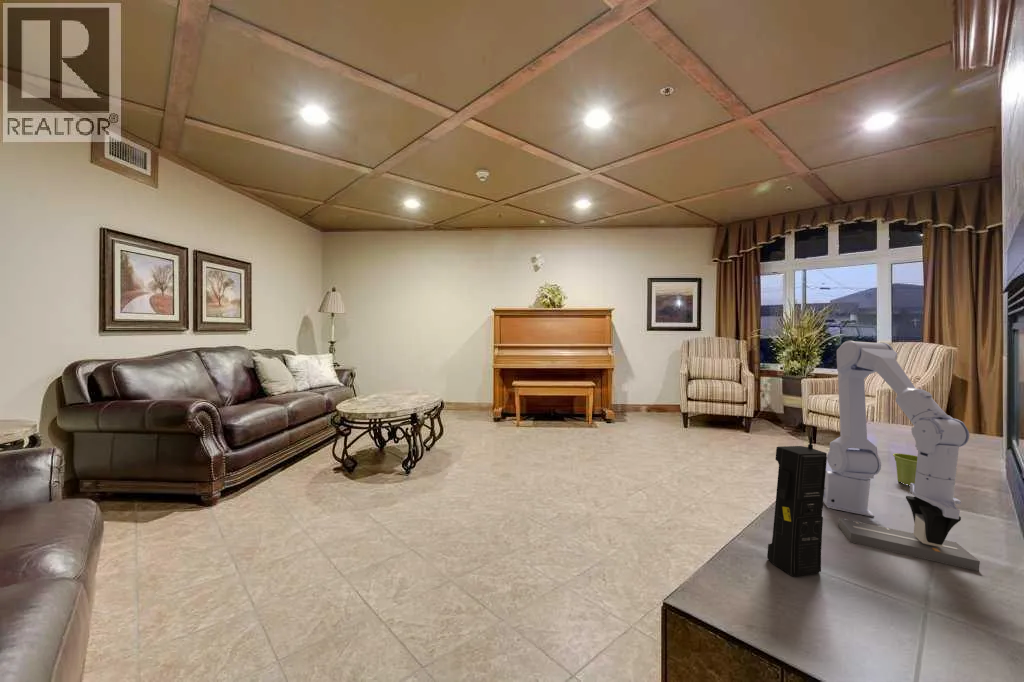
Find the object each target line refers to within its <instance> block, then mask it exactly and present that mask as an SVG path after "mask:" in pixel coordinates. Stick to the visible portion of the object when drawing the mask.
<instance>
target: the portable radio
mask: <svg viewBox="0 0 1024 682" xmlns="http://www.w3.org/2000/svg"><path fill="white" fill-rule="evenodd" d="M813 438H814V436H813V435H809V444H808V445H807V446H802V445H790V446H788V445H787V446H786V445H785V446H776V449H775V450H776V451H775V461H777V463H778V471H777V473H778V474H777V482H776V483H777V485H776V496H775V503H774V504H775V506H774V516H773V517H774V519H773V528H772V538H771V539H772V540H771V543H768V545H767V553H766V554H767V555H766V557H767V560H768V561H770V562H771V563H772V564H773V565H774V566H776V567H777V568H779V569H780V570H782V571H784V572H785V573H787V574H788V575H789V576H791V577H800V576H806V575H807V576H808V575H813V574H815V575H816V574H819V573H821V571H822V545H823V544H822V541H823V538H822V537H823V526H824V523H823V522H824V517H823V506H824V502H823V496H824V486H825V474H826V471H827V463H828V461H827V455H828V453H827V452H824V451H822V450H818V449H816V448H814V445H813V444H812V443H813Z"/></svg>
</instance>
